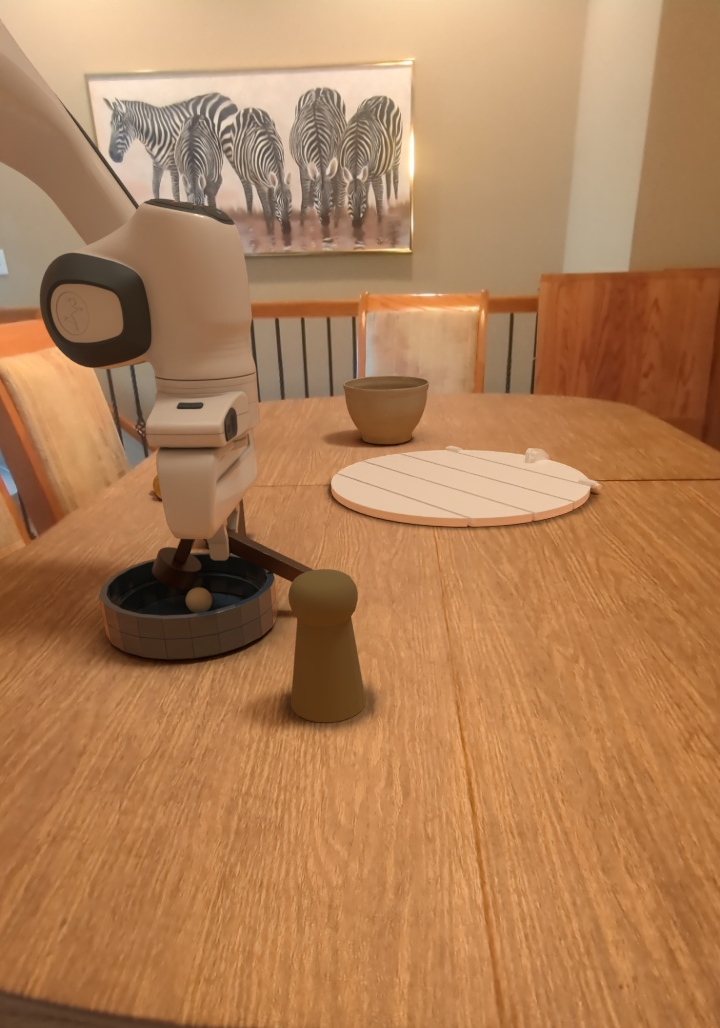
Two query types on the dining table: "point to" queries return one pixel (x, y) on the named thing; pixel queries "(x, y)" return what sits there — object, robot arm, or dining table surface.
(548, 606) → the dining table surface
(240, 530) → the dark brown upright block
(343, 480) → the lazy susan
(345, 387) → the planter bowl
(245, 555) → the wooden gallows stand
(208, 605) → the dough ball
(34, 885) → the dining table surface
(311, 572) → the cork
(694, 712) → the dining table surface
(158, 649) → the bowl
